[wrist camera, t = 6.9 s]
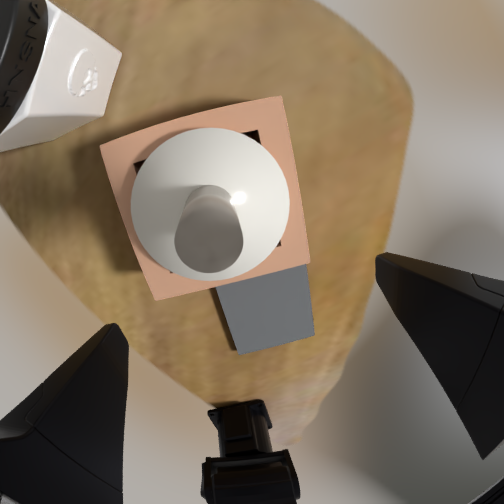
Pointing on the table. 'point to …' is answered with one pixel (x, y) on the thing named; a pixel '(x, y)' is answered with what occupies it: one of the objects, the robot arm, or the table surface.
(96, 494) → the robot arm
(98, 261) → the table surface
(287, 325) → the mat
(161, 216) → the lid
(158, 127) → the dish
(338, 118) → the table surface
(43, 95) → the jar
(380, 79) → the table surface
